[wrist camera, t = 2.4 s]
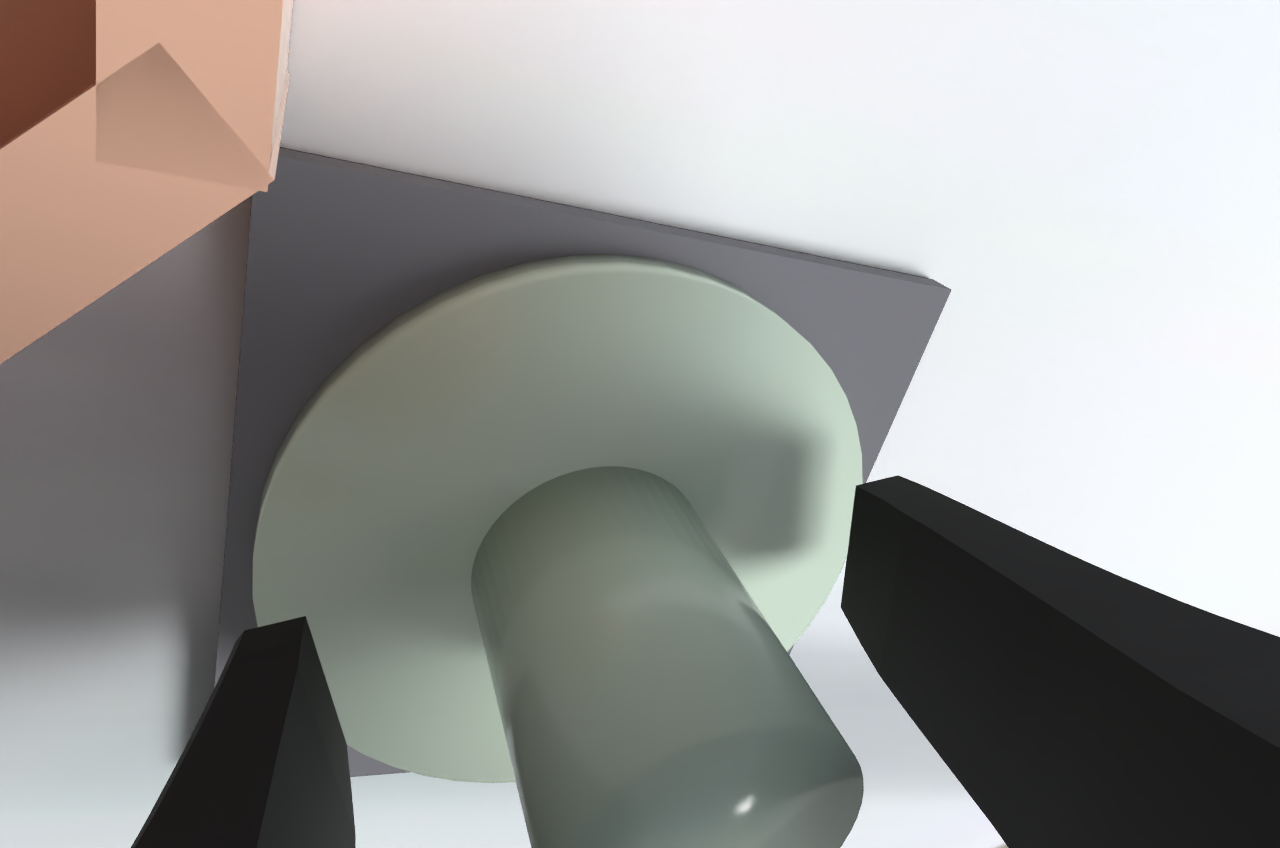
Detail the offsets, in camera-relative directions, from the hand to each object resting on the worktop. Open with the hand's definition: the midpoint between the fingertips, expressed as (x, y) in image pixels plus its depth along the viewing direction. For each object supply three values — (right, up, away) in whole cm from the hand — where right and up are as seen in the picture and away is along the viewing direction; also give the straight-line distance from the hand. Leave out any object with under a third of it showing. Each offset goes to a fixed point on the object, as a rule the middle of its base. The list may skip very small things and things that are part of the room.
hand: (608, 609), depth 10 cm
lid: (0, +1, +1) cm, 1 cm away
